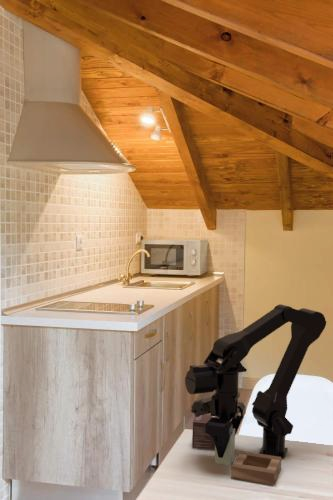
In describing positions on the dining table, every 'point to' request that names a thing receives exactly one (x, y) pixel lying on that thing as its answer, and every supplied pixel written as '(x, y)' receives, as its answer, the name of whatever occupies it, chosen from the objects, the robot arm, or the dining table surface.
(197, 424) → the box
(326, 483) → the dining table surface
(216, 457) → the peg
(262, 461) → the socket block
